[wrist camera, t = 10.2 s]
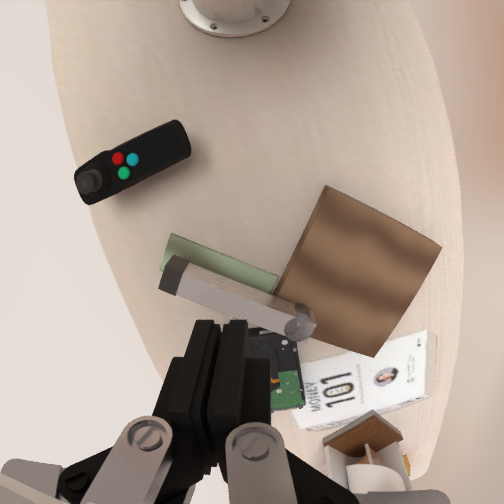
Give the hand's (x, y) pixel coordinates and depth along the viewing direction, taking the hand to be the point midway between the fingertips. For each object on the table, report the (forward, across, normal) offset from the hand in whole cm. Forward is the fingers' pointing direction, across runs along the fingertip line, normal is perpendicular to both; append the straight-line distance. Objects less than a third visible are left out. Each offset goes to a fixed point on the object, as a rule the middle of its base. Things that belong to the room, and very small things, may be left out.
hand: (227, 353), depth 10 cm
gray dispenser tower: (+24, -18, +43) cm, 53 cm away
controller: (+26, +11, -5) cm, 29 cm away
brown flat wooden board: (+26, -5, +7) cm, 27 cm away
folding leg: (+22, +2, +11) cm, 25 cm away
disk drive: (+25, 0, +25) cm, 35 cm away
